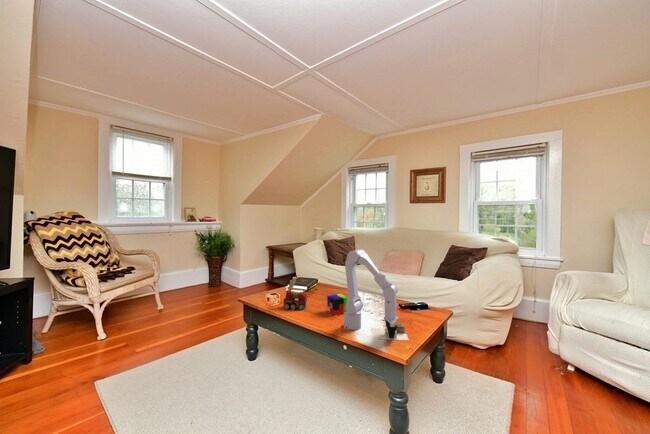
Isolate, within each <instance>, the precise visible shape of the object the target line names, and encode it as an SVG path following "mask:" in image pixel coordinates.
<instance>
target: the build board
mask: <svg viewBox="0 0 650 434" xmlns="http://www.w3.org/2000/svg"><path fill="white" fill-rule="evenodd" d="M385 329H387V327H386V328H385V327H370V330H371V331H370V332H371V339H372V340H395V341H397V340H398V341H410V340H409V336H408V334H407V332H406V330H405V333H401V332H397V338H394V339H390V338H385Z"/></svg>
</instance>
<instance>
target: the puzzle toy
mask: <svg viewBox="0 0 650 434" xmlns="http://www.w3.org/2000/svg"><path fill="white" fill-rule="evenodd" d="M326 297H327V298H326V299H327V300H326V302H327V303H326V307H327V309H326V311H327V312H328V311H329V312H328V313H330V314H331V313H332V314H331V315H333V316H334V315H337V316H339V315H340V314H341V315H344V313H345V312H347V311H346V300H347V298H348V296H345V294H342V293H337V294H330V295H327V296H326Z"/></svg>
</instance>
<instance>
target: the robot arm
mask: <svg viewBox="0 0 650 434" xmlns="http://www.w3.org/2000/svg"><path fill="white" fill-rule="evenodd" d="M357 265H363V266H365V268H367V270H368V271H369V272H370V273H371V274H372V275H373V277H374V279H373V280H374V282H376V284H377V285H378V286H379V288H380V289H381V290H382V294H383V296H384V317H383V319H384V322H385V327H386V328H387V329H388V334H389V338H390V339H389V340H391V339H394V335H395V331H396V329H397V327H398V326H397V325H394V324H396V321H397V320H399V316H397V294H398V292H399V291H398V290H399V289H398V286H397V285H396V284H395V283H393V282H391V281H390V280H389V278H388V277H387V274H386V273H384V272H381V271H379V270H378V268H377V266H376V265H375V264H374V263H373V261H372V259H370V257H369V255H368V253H366V251H365V250H364V249H363V248H358V249H356V250H355V249H354V250H350V251H349V252H348V253H347V254H346V260H345V262H344V267H345V279H346V286H347V297H348V298H347V300H346V311H347V312H345V313H344V314H343V320H344V321H343V327H344V328H343V329H344V330H351V331H352V330H353V331H359V330H360V329H361V328H362V312H361V311H362V309H363V307H364V304H363V301H362V298H361V296H360V295H359V290H358V289H359V288H358V282H357V273H356V266H357Z"/></svg>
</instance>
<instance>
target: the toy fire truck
mask: <svg viewBox="0 0 650 434" xmlns="http://www.w3.org/2000/svg"><path fill="white" fill-rule="evenodd" d="M296 281H297V280H296V279H291V280H290V283H289V285H288V288H287V290H286V291H285V297H284V298H283V308H284V309H285V310H286V309H288V310H289V309H291V310H292V309H295V310H296V309H298V310H300V311H303V310H304V309H305V308H307V306H308V297H307V294H306V293H305V292H303V291H300V292H293V291H292V290H293V288H294V286H295V283H296Z"/></svg>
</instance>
